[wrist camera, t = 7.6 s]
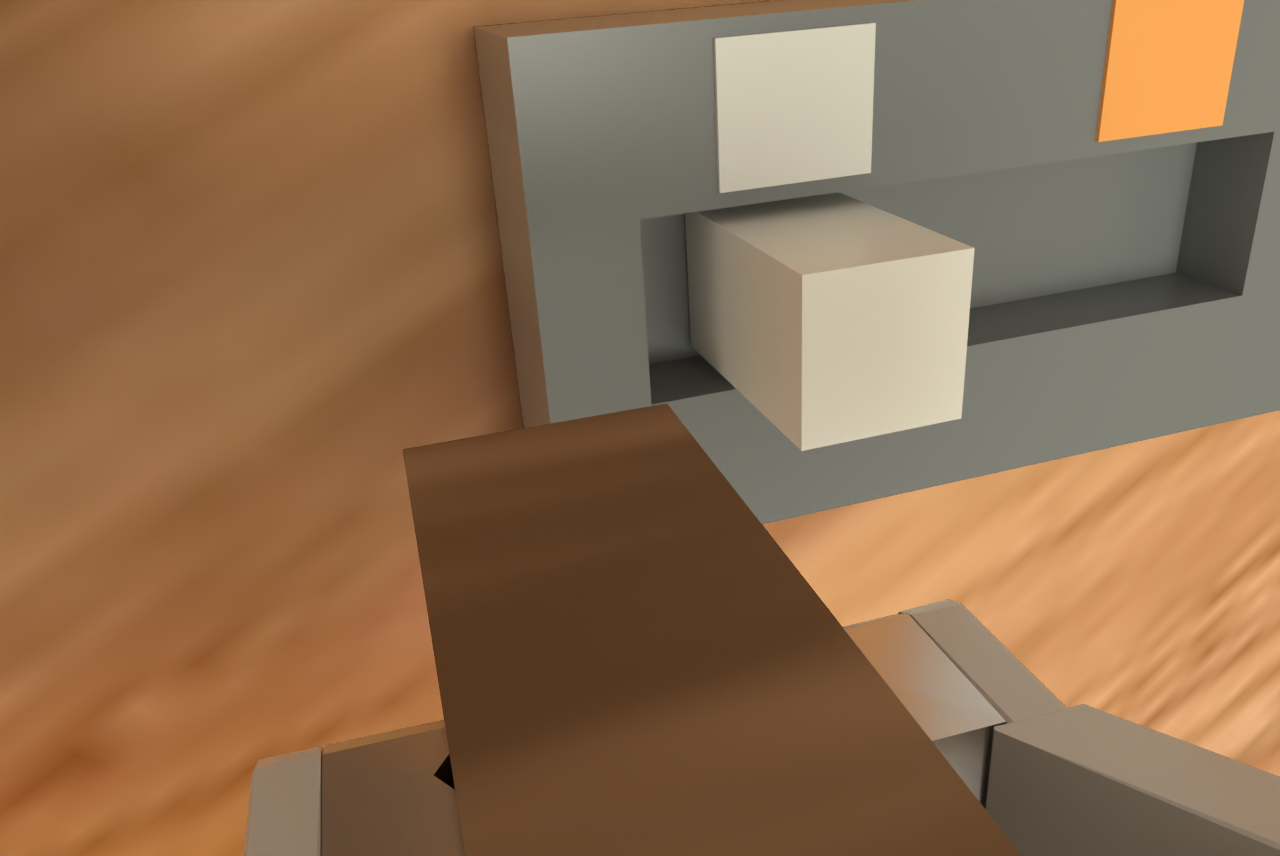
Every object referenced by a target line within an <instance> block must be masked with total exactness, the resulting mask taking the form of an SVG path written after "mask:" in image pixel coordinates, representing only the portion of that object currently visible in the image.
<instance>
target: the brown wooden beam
mask: <svg viewBox="0 0 1280 856" xmlns="http://www.w3.org/2000/svg"><path fill="white" fill-rule="evenodd" d="M403 455H404V461H405V468H406V474H407V481H408V487H409V494H410V500H411V507H412V513H413V520H414V526H415V533H416V539H417V546H418V552H419V559H420V565H421V572H422V578H423V585H424V591H425V598H426V604H427V611H428V617H429V624H430V630H431V637H432V643H433V650H434V656H435V662H436V669H437V675H438V682H439V688H440V695H441V701H442V708H443V714H444V721H445V727H446V734H447V740H448V747H449V753H450V760H451V766H452V773H453V779H454V786H455V792H456V799H457V805H458V812H459V818H460V825H461V831H462V838H463V844H464V851H465V856H1022V855H1021V854H1020V853H1019V852H1018V850H1017V849H1016V848H1015V847H1014V845H1013V844H1012V843H1011V841H1010V840H1009V839H1008V838H1007V836H1006V835H1005V834H1004V832H1003V831H1002V830H1001V829H1000V827H999V826H998V825H997V824H996V822H995V821H994V820H993V818H992V817H991V816H990V815H989V813H988V812H987V811H986V810H985V808H984V807H983V806H982V804H981V803H980V802H979V801H978V799H977V798H976V797H975V795H974V794H973V793H972V792H971V790H970V789H969V788H968V787H967V785H966V784H965V783H964V781H963V780H962V779H961V778H960V776H959V775H958V774H957V773H956V771H955V770H954V769H953V767H952V766H951V765H950V764H949V762H948V761H947V760H946V759H945V757H944V756H943V755H942V753H941V752H940V751H939V750H938V748H937V747H936V746H935V744H934V743H933V742H932V741H931V739H930V738H929V737H928V736H927V734H926V733H925V732H924V730H923V729H922V728H921V727H920V725H919V724H918V723H917V722H916V720H915V719H914V718H913V716H912V715H911V714H910V713H909V711H908V710H907V709H906V707H905V706H904V705H903V704H902V702H901V701H900V700H899V699H898V697H897V696H896V695H895V693H894V692H893V691H892V690H891V688H890V687H889V686H888V685H887V683H886V682H885V681H884V679H883V678H882V677H881V676H880V674H879V673H878V672H877V671H876V669H875V668H874V667H873V665H872V664H871V663H870V662H869V660H868V659H867V658H866V656H865V655H864V654H863V653H862V651H861V650H860V649H859V648H858V646H857V645H856V644H855V642H854V641H853V640H852V639H851V637H850V636H849V635H848V634H847V632H846V631H845V630H844V628H843V627H842V626H841V625H840V623H839V622H838V621H837V619H836V618H835V617H834V616H833V614H832V613H831V612H830V611H829V609H828V608H827V607H826V605H825V604H824V603H823V602H822V600H821V599H820V598H819V597H818V595H817V594H816V593H815V591H814V590H813V589H812V588H811V586H810V585H809V584H808V582H807V581H806V580H805V579H804V577H803V576H802V575H801V574H800V572H799V571H798V570H797V568H796V567H795V566H794V565H793V563H792V562H791V561H790V560H789V558H788V557H787V556H786V554H785V553H784V552H783V551H782V549H781V548H780V547H779V546H778V544H777V543H776V542H775V540H774V539H773V538H772V537H771V535H770V534H769V533H768V531H767V530H766V529H765V528H764V526H763V525H762V524H761V523H760V521H759V520H758V519H757V517H756V516H755V515H754V514H753V512H752V511H751V510H750V509H749V507H748V506H747V505H746V503H745V502H744V501H743V500H742V498H741V497H740V496H739V494H738V493H737V492H736V491H735V489H734V488H733V487H732V486H731V484H730V483H729V482H728V480H727V479H726V478H725V477H724V475H723V474H722V473H721V472H720V470H719V469H718V468H717V466H716V465H715V464H714V463H713V461H712V460H711V459H710V458H709V456H708V455H707V454H706V452H705V451H704V450H703V449H702V447H701V446H700V445H699V443H698V442H697V441H696V440H695V438H694V437H693V436H692V435H691V433H690V432H689V431H688V429H687V428H686V427H685V426H684V424H683V423H682V422H681V421H680V419H679V418H678V417H677V415H676V414H675V413H674V412H673V410H672V409H671V408H670V406H669V405H668V404H667V403H666V404H660V405H654V406H648V407H643V408H637V409H631V410H626V411H620V412H614V413H608V414H603V415H597V416H591V417H585V418H580V419H574V420H568V421H563V422H557V423H551V424H545V425H540V426H534V427H528V428H523V429H517V430H511V431H505V432H500V433H494V434H488V435H483V436H477V437H471V438H465V439H460V440H454V441H448V442H443V443H437V444H431V445H425V446H420V447H414V448H408V449H403Z"/></svg>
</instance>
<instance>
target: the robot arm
mask: <svg viewBox="0 0 1280 856" xmlns="http://www.w3.org/2000/svg"><path fill="white" fill-rule="evenodd" d="M843 628H844V630H845V631H846V632H847V634H848V635H849V636H850V637H851V639H852V640H853V641H854V642H855V644H856V645H857V646H858V648H859V649H860V650H861V651H862V653H863V654H864V655H865V656H866V658H867V659H868V660H869V662H870V663H871V664H872V665H873V667H874V668H875V669H876V671H877V672H878V673H879V674H880V676H881V677H882V678H883V679H884V681H885V682H886V683H887V685H888V686H889V687H890V688H891V690H892V691H893V692H894V693H895V695H896V696H897V697H898V699H899V700H900V701H901V702H902V704H903V705H904V706H905V707H906V709H907V710H908V711H909V713H910V714H911V715H912V716H913V718H914V719H915V720H916V722H917V723H918V724H919V725H920V727H921V728H922V729H923V730H924V732H925V733H926V734H927V736H928V737H929V738H930V739H931V741H932V742H933V743H934V744H935V746H936V747H937V748H938V750H939V751H940V752H941V753H942V755H943V756H944V757H945V759H946V760H947V761H948V762H949V764H950V765H951V766H952V767H953V769H954V770H955V771H956V773H957V774H958V775H959V776H960V778H961V779H962V780H963V781H964V783H965V784H966V785H967V787H968V788H969V789H970V790H971V792H972V793H973V794H974V795H975V797H976V798H977V799H978V801H979V802H980V803H981V804H982V806H983V807H984V808H985V810H986V811H987V812H988V813H989V815H990V816H991V817H992V818H993V820H994V821H995V822H996V824H997V825H998V826H999V827H1000V829H1001V830H1002V831H1003V832H1004V834H1005V835H1006V836H1007V838H1008V839H1009V840H1010V841H1011V843H1012V844H1013V845H1014V847H1015V848H1016V849H1017V850H1018V852H1019V853H1020V854H1021V855H1022V856H1280V777H1279V776H1277V775H1274V774H1271V773H1269V772H1266V771H1263V770H1261V769H1258V768H1255V767H1252V766H1250V765H1247V764H1244V763H1242V762H1239V761H1236V760H1234V759H1231V758H1228V757H1225V756H1223V755H1220V754H1217V753H1215V752H1212V751H1209V750H1207V749H1204V748H1201V747H1198V746H1196V745H1193V744H1190V743H1188V742H1185V741H1182V740H1179V739H1177V738H1174V737H1171V736H1169V735H1166V734H1163V733H1161V732H1158V731H1155V730H1152V729H1150V728H1147V727H1144V726H1142V725H1139V724H1136V723H1134V722H1131V721H1128V720H1125V719H1123V718H1120V717H1117V716H1115V715H1112V714H1109V713H1107V712H1104V711H1101V710H1098V709H1096V708H1093V707H1090V706H1088V705H1085V704H1081V705H1077V706H1073V707H1069V708H1067V707H1066V706H1065V705H1064V704H1063V703H1062V702H1061V701H1060V700H1059V699H1058V698H1057V697H1056V696H1055V695H1054V694H1053V693H1052V692H1051V691H1050V690H1049V689H1048V688H1047V687H1046V686H1045V685H1044V684H1043V683H1042V682H1041V681H1040V680H1039V679H1038V678H1037V677H1036V676H1035V675H1034V674H1033V673H1032V672H1031V671H1030V670H1029V669H1028V668H1027V667H1026V666H1025V665H1024V664H1023V663H1022V662H1021V661H1020V660H1019V659H1018V658H1016V657H1015V656H1014V655H1013V654H1012V653H1011V652H1010V651H1009V650H1008V649H1007V648H1006V647H1005V646H1004V645H1003V644H1002V643H1001V642H1000V641H999V640H998V639H997V638H996V637H995V636H994V635H993V634H992V633H991V632H990V631H989V630H988V629H987V628H986V627H985V626H984V625H983V624H982V623H981V622H980V621H979V620H978V619H977V618H976V617H975V616H974V615H973V614H972V613H971V612H970V611H969V610H968V609H967V608H966V607H965V606H964V605H962V604H961V603H959V602H956V601H953V600H951V599H947V600H943V601H939V602H935V603H932V604H928V605H924V606H920V607H916V608H912V609H908V610H905V611H901V612H899V613H898V614H896V615H890V616H886V617H882V618H878V619H874V620H870V621H865V622H861V623H857V624H853V625H849V626H845V627H843ZM244 856H465V851H464V844H463V838H462V831H461V825H460V818H459V812H458V805H457V799H456V792H455V786H454V779H453V773H452V766H451V760H450V753H449V747H448V740H447V734H446V727H445V721H444V720H440V721H436V722H431V723H426V724H421V725H417V726H412V727H407V728H402V729H398V730H393V731H388V732H383V733H379V734H374V735H369V736H364V737H360V738H355V739H350V740H345V741H341V742H336V743H331V744H326V745H325V747H316V748H311V749H307V750H302V751H298V752H293V753H288V754H284V755H279V756H275V757H270V758H265V759H261V760H259V761H258V763H257V765H256V767H255V769H254V771H253V773H252V778H251V788H250V799H249V809H248V819H247V829H246V839H245V849H244Z"/></svg>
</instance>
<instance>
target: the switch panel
mask: <svg viewBox="0 0 1280 856" xmlns="http://www.w3.org/2000/svg"><path fill="white" fill-rule="evenodd" d="M474 35H475V43H476V51H477V59H478V67H479V75H480V83H481V91H482V99H483V107H484V115H485V123H486V131H487V139H488V147H489V155H490V163H491V171H492V179H493V187H494V195H495V203H496V211H497V219H498V227H499V235H500V243H501V251H502V259H503V267H504V275H505V283H506V291H507V299H508V307H509V315H510V323H511V331H512V339H513V347H514V355H515V363H516V371H517V379H518V387H519V395H520V403H521V411H522V419H523V427H524V428H528V427H534V426H540V425H545V424H551V423H557V422H563V421H568V420H574V419H580V418H585V417H591V416H597V415H603V414H608V413H614V412H620V411H626V410H631V409H637V408H643V407H648V406H654V405H660V404H666V403H667V404H668V405H669V406H670V408H671V409H672V410H673V412H674V413H675V414H676V415H677V417H678V418H679V419H680V421H681V422H682V423H683V424H684V426H685V427H686V428H687V429H688V431H689V432H690V433H691V435H692V436H693V437H694V438H695V440H696V441H697V442H698V443H699V445H700V446H701V447H702V449H703V450H704V451H705V452H706V454H707V455H708V456H709V458H710V459H711V460H712V461H713V463H714V464H715V465H716V466H717V468H718V469H719V470H720V472H721V473H722V474H723V475H724V477H725V478H726V479H727V480H728V482H729V483H730V484H731V486H732V487H733V488H734V489H735V491H736V492H737V493H738V494H739V496H740V497H741V498H742V500H743V501H744V502H745V503H746V505H747V506H748V507H749V509H750V510H751V511H752V512H753V514H754V515H755V516H756V517H757V519H758V520H759V521H760V523H761V524H765V523H770V522H774V521H779V520H784V519H788V518H793V517H797V516H802V515H806V514H811V513H815V512H820V511H824V510H829V509H833V508H838V507H843V506H847V505H852V504H856V503H861V502H865V501H870V500H874V499H879V498H883V497H888V496H892V495H897V494H901V493H906V492H911V491H915V490H920V489H924V488H929V487H933V486H938V485H942V484H947V483H951V482H956V481H960V480H965V479H970V478H974V477H979V476H983V475H988V474H992V473H997V472H1001V471H1006V470H1010V469H1015V468H1019V467H1024V466H1028V465H1033V464H1038V463H1042V462H1047V461H1051V460H1056V459H1060V458H1065V457H1069V456H1074V455H1078V454H1083V453H1087V452H1092V451H1097V450H1101V449H1106V448H1110V447H1115V446H1119V445H1124V444H1128V443H1133V442H1137V441H1142V440H1146V439H1151V438H1155V437H1160V436H1165V435H1169V434H1174V433H1178V432H1183V431H1187V430H1192V429H1196V428H1201V427H1205V426H1210V425H1214V424H1219V423H1224V422H1228V421H1233V420H1237V419H1242V418H1246V417H1251V416H1255V415H1260V414H1264V413H1269V412H1273V411H1278V410H1280V0H775V1H763V2H752V3H741V4H729V5H718V6H706V7H695V8H684V9H672V10H661V11H649V12H638V13H626V14H615V15H604V16H592V17H581V18H569V19H558V20H546V21H535V22H524V23H512V24H501V25H489V26H478V27H474ZM836 192H839V193H842V194H844V195H847V196H849V197H852V198H854V199H857V200H859V201H861V202H864V203H866V204H869V205H871V206H874V207H876V208H878V209H881V210H883V211H886V212H888V213H891V214H893V215H896V216H898V217H900V218H903V219H905V220H908V221H910V222H913V223H915V224H918V225H920V226H922V227H925V228H927V229H930V230H932V231H935V232H937V233H939V234H942V235H944V236H947V237H949V238H952V239H954V240H957V241H959V242H961V243H964V244H966V245H969V246H971V247H974V248H975V249H974V262H973V275H972V288H971V301H970V314H969V327H968V340H967V352H966V365H965V378H964V391H963V404H962V417H961V419H957V420H952V421H947V422H942V423H937V424H932V425H927V426H922V427H917V428H912V429H907V430H903V431H898V432H893V433H888V434H883V435H878V436H873V437H868V438H863V439H858V440H854V441H849V442H844V443H839V444H834V445H829V446H824V447H819V448H814V449H809V450H805V451H801V450H800V449H799V448H798V447H797V446H796V445H795V444H794V443H793V442H791V441H790V440H789V439H788V438H787V437H786V436H785V435H784V434H783V433H782V432H781V431H780V430H779V429H778V428H777V427H776V426H775V425H774V424H773V423H771V422H770V421H769V420H768V419H767V418H766V417H765V416H764V415H763V414H762V413H761V412H760V411H759V410H758V409H757V408H756V407H755V406H754V405H753V404H752V403H750V402H749V401H748V400H747V399H746V398H745V397H744V396H743V395H742V394H741V393H740V392H739V391H738V390H737V389H736V388H735V387H734V386H733V385H732V384H731V383H729V382H728V381H727V380H726V379H725V378H724V377H723V376H722V375H721V374H720V373H719V372H718V371H717V370H716V369H715V368H714V367H713V366H712V365H711V364H710V363H708V362H707V361H706V360H705V359H704V358H703V357H702V356H701V355H700V354H699V353H698V352H697V351H696V350H695V349H694V348H693V347H692V346H691V336H690V314H689V292H688V270H687V248H686V227H685V213H692V212H699V211H706V210H713V209H720V208H728V207H735V206H742V205H749V204H756V203H764V202H771V201H778V200H785V199H792V198H800V197H807V196H814V195H821V194H829V193H836Z"/></svg>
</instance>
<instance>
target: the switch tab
mask: <svg viewBox="0 0 1280 856" xmlns="http://www.w3.org/2000/svg"><path fill="white" fill-rule="evenodd" d="M685 227H686V248H687V270H688V292H689V314H690V336H691V346H692V347H693V348H694V349H695V350H696V351H697V352H698V353H699V354H700V355H701V356H702V357H703V358H704V359H705V360H706V361H707V362H708V363H710V364H711V365H712V366H713V367H714V368H715V369H716V370H717V371H718V372H719V373H720V374H721V375H722V376H723V377H724V378H725V379H726V380H727V381H728V382H729V383H731V384H732V385H733V386H734V387H735V388H736V389H737V390H738V391H739V392H740V393H741V394H742V395H743V396H744V397H745V398H746V399H747V400H748V401H749V402H750V403H752V404H753V405H754V406H755V407H756V408H757V409H758V410H759V411H760V412H761V413H762V414H763V415H764V416H765V417H766V418H767V419H768V420H769V421H770V422H771V423H773V424H774V425H775V426H776V427H777V428H778V429H779V430H780V431H781V432H782V433H783V434H784V435H785V436H786V437H787V438H788V439H789V440H790V441H791V442H793V443H794V444H795V445H796V446H797V447H798V448H799V449H800V450H801V451H805V450H809V449H814V448H819V447H824V446H829V445H834V444H839V443H844V442H849V441H854V440H858V439H863V438H868V437H873V436H878V435H883V434H888V433H893V432H898V431H903V430H907V429H912V428H917V427H922V426H927V425H932V424H937V423H942V422H947V421H952V420H957V419H961V417H962V404H963V391H964V378H965V365H966V352H967V340H968V327H969V314H970V301H971V288H972V275H973V262H974V249H975V248H974V247H971V246H969V245H966V244H964V243H961V242H959V241H957V240H954V239H952V238H949V237H947V236H944V235H942V234H939V233H937V232H935V231H932V230H930V229H927V228H925V227H922V226H920V225H918V224H915V223H913V222H910V221H908V220H905V219H903V218H900V217H898V216H896V215H893V214H891V213H888V212H886V211H883V210H881V209H878V208H876V207H874V206H871V205H869V204H866V203H864V202H861V201H859V200H857V199H854V198H852V197H849V196H847V195H844V194H842V193H839V192H836V193H829V194H821V195H814V196H807V197H800V198H792V199H785V200H778V201H771V202H764V203H756V204H749V205H742V206H735V207H728V208H720V209H713V210H706V211H699V212H692V213H685Z"/></svg>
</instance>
